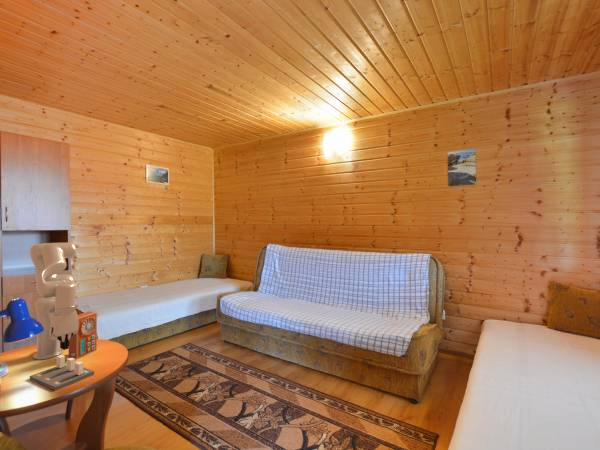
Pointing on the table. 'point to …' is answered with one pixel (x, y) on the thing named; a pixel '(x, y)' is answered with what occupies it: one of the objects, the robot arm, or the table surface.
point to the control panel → (84, 336)
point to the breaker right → (79, 368)
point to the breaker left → (60, 361)
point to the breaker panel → (59, 377)
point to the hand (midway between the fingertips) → (64, 348)
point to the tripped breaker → (71, 364)
